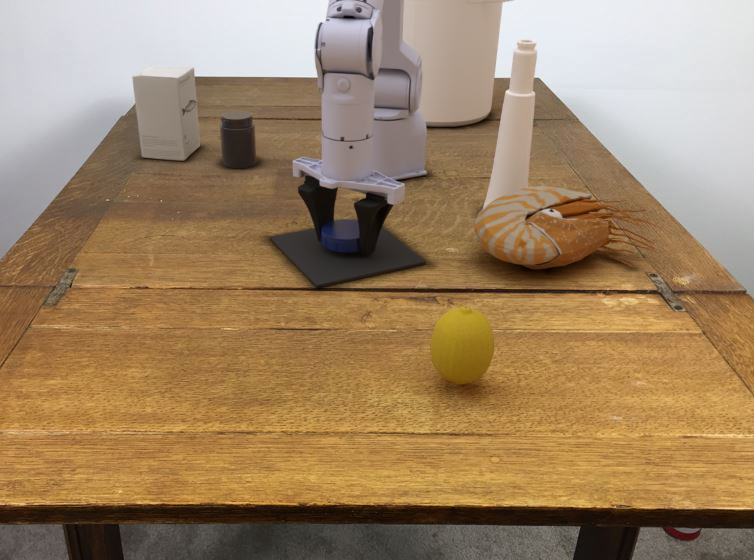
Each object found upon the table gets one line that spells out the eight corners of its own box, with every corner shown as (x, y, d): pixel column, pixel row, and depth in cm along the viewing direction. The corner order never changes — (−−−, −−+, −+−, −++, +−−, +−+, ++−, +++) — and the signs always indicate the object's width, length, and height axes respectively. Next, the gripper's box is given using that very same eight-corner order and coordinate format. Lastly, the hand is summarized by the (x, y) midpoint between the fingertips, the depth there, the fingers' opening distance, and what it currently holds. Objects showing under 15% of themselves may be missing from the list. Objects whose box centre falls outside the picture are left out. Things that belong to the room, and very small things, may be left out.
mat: (370, 220, 102) (370, 217, 102) (426, 264, 92) (426, 261, 91) (269, 239, 97) (269, 236, 97) (316, 288, 86) (316, 285, 86)
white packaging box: (185, 161, 121) (177, 77, 114) (140, 158, 122) (129, 74, 115) (202, 146, 127) (195, 66, 120) (159, 143, 128) (149, 63, 121)
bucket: (522, 109, 147) (542, -39, 134) (473, 140, 131) (490, -25, 118) (402, 89, 158) (409, -49, 145) (343, 115, 142) (345, -37, 129)
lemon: (422, 368, 73) (428, 292, 69) (480, 365, 74) (490, 290, 69) (433, 403, 68) (440, 325, 64) (495, 400, 69) (506, 322, 65)
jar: (215, 164, 120) (211, 116, 116) (236, 155, 124) (233, 108, 120) (242, 171, 118) (240, 121, 114) (263, 161, 121) (261, 113, 117)
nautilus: (645, 245, 98) (662, 309, 85) (472, 220, 100) (465, 279, 88) (664, 186, 93) (684, 245, 81) (482, 162, 96) (476, 215, 84)
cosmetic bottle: (512, 228, 100) (536, 49, 89) (472, 215, 104) (490, 41, 92) (536, 214, 104) (562, 41, 92) (497, 202, 108) (518, 34, 96)
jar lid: (367, 254, 91) (367, 240, 90) (317, 250, 91) (317, 237, 91) (373, 233, 96) (373, 220, 95) (325, 230, 96) (325, 217, 95)
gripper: (273, 129, 88) (277, 241, 95) (381, 156, 80) (376, 275, 87) (313, 115, 92) (314, 222, 100) (417, 139, 85) (410, 253, 92)
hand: (345, 245), depth 94 cm, fingers closed on jar lid, 6 cm apart
